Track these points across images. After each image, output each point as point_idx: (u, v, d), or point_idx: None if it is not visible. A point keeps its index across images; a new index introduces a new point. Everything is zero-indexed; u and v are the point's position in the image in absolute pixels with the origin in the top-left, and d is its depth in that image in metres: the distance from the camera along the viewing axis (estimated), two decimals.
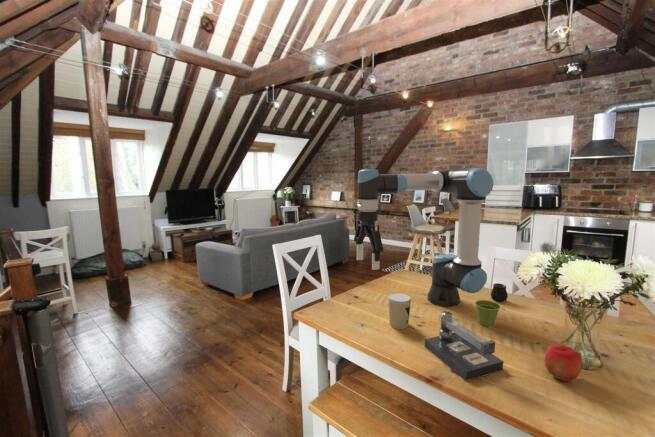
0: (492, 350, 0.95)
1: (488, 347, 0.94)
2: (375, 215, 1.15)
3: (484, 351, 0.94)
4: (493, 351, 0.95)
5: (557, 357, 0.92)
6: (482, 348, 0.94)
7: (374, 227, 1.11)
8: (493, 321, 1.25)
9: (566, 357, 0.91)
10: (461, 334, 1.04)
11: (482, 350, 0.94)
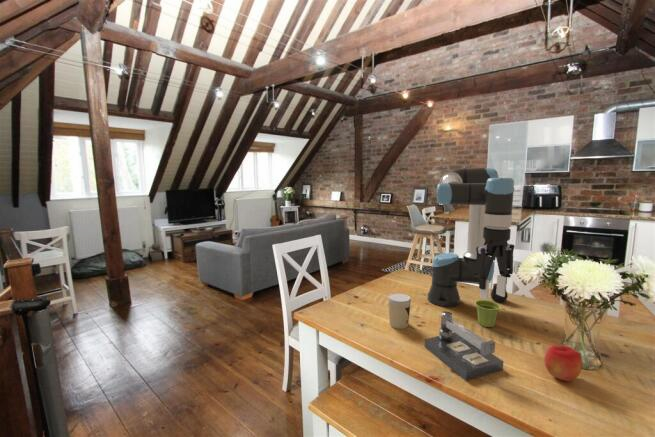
0: (492, 350, 0.95)
1: (488, 347, 0.94)
2: (492, 234, 0.94)
3: (484, 351, 0.94)
4: (493, 351, 0.95)
5: (557, 357, 0.92)
6: (482, 348, 0.94)
7: (477, 249, 0.96)
8: (493, 321, 1.25)
9: (566, 357, 0.91)
10: (461, 334, 1.04)
11: (482, 350, 0.94)
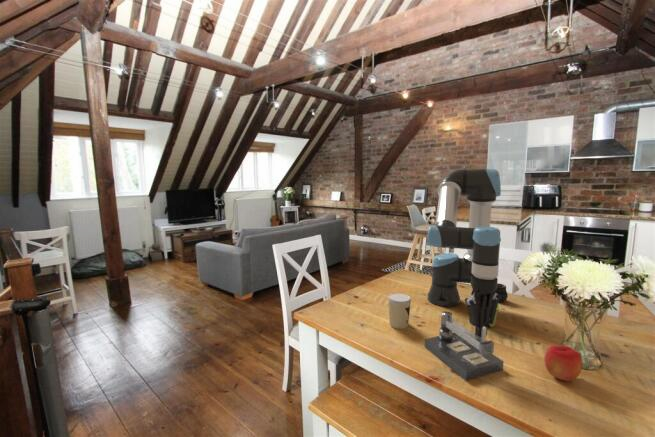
0: (491, 350, 0.95)
1: (486, 348, 0.94)
2: (479, 283, 0.95)
3: (482, 351, 0.94)
4: (492, 351, 0.95)
5: (557, 357, 0.92)
6: (480, 348, 0.94)
7: (466, 301, 0.97)
8: (493, 321, 1.25)
9: (566, 357, 0.91)
10: (460, 334, 1.03)
11: (480, 350, 0.94)
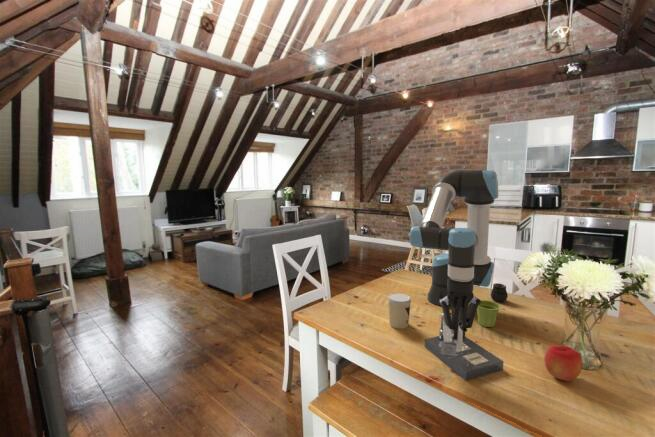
0: (452, 352, 0.94)
1: (446, 347, 0.94)
2: (451, 285, 0.95)
3: (441, 349, 0.95)
4: (454, 354, 0.94)
5: (557, 357, 0.92)
6: None
7: (439, 302, 0.98)
8: (493, 321, 1.25)
9: (566, 357, 0.91)
10: (443, 333, 1.04)
11: None
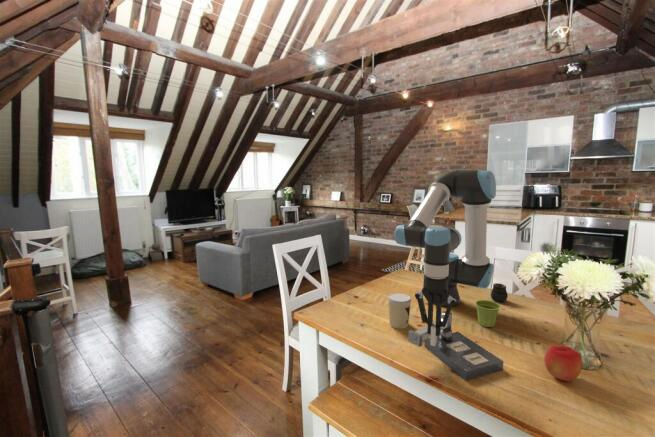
0: (417, 342, 1.00)
1: (412, 336, 1.01)
2: None
3: (409, 337, 1.02)
4: (418, 344, 0.99)
5: (557, 357, 0.92)
6: None
7: None
8: (493, 321, 1.25)
9: (566, 357, 0.91)
10: None
11: None
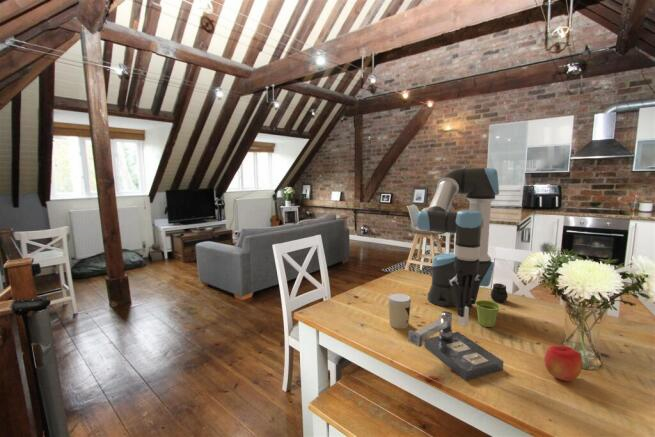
0: (417, 342, 1.00)
1: (412, 336, 1.01)
2: (461, 264, 0.99)
3: (409, 337, 1.02)
4: (418, 344, 0.99)
5: (557, 357, 0.92)
6: None
7: (449, 282, 1.01)
8: (493, 321, 1.25)
9: (566, 357, 0.91)
10: None
11: None
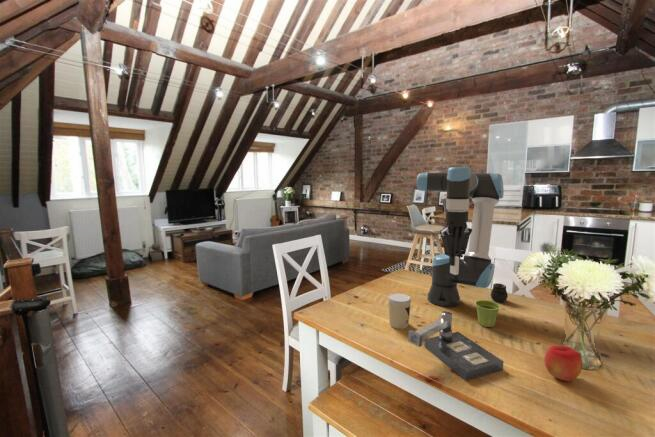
0: (417, 342, 1.00)
1: (412, 336, 1.01)
2: (452, 216, 1.08)
3: (409, 337, 1.02)
4: (418, 344, 0.99)
5: (557, 357, 0.92)
6: None
7: (441, 233, 1.10)
8: (493, 321, 1.25)
9: (566, 357, 0.91)
10: None
11: None
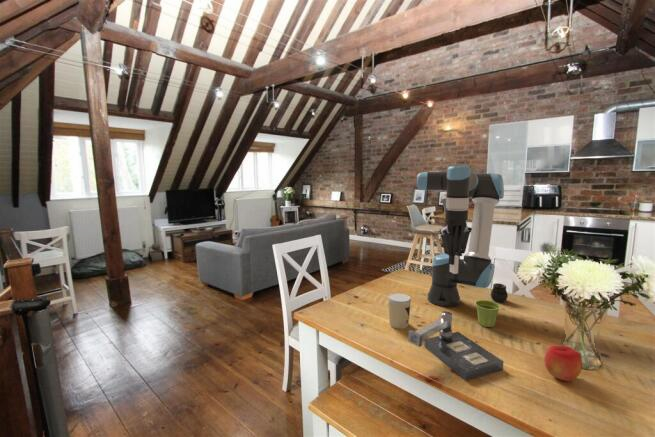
0: (417, 342, 1.00)
1: (412, 336, 1.01)
2: (451, 215, 1.08)
3: (409, 337, 1.02)
4: (418, 344, 0.99)
5: (557, 357, 0.92)
6: None
7: (440, 232, 1.10)
8: (493, 321, 1.25)
9: (566, 357, 0.91)
10: None
11: None
